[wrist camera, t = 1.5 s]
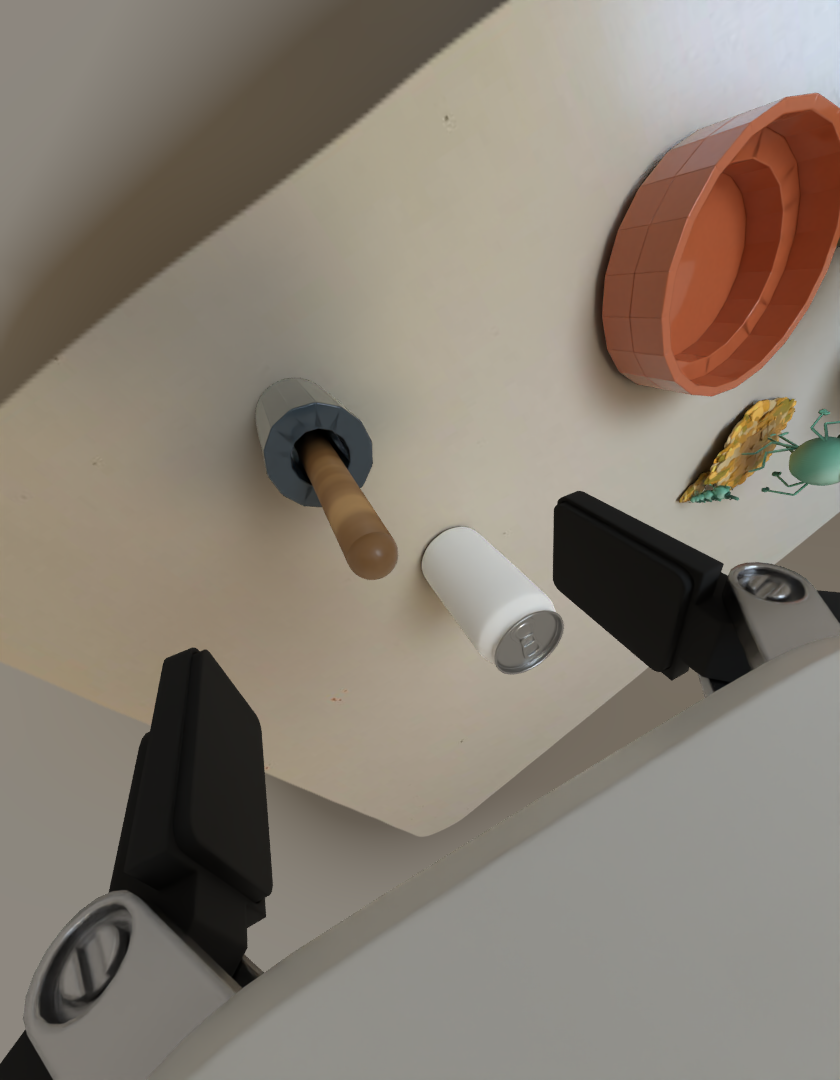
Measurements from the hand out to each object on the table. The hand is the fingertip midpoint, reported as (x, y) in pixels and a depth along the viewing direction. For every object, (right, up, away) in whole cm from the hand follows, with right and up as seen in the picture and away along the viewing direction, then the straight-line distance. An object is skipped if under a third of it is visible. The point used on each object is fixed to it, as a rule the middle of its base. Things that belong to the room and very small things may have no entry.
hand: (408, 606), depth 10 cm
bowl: (+21, +23, +21) cm, 38 cm away
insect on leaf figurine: (+37, +13, +35) cm, 53 cm away
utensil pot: (-8, +10, +15) cm, 20 cm away
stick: (-7, +9, +15) cm, 19 cm away
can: (+3, 0, +26) cm, 26 cm away
